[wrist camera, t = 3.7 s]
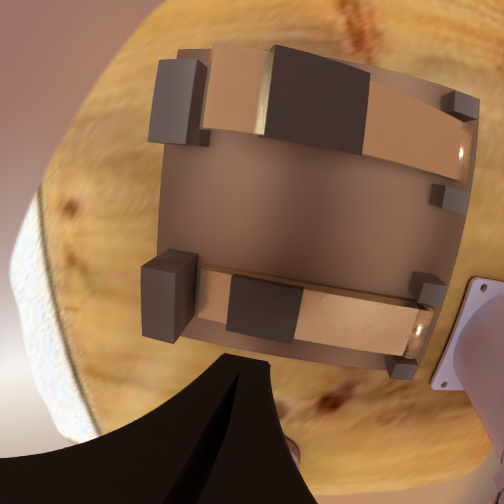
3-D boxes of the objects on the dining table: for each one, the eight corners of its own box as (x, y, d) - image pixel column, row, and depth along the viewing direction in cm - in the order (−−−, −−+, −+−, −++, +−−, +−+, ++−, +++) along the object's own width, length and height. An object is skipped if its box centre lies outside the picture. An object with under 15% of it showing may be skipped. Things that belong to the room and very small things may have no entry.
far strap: (431, 301, 13) (440, 314, 12) (414, 349, 14) (420, 364, 12) (208, 260, 15) (197, 269, 14) (204, 310, 16) (194, 322, 14)
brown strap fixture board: (454, 107, 13) (511, 89, 8) (403, 344, 17) (430, 406, 12) (198, 66, 15) (151, 29, 10) (176, 306, 19) (132, 357, 14)
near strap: (458, 125, 11) (482, 127, 10) (451, 182, 12) (475, 187, 10) (210, 48, 8) (218, 33, 7) (198, 132, 9) (204, 130, 7)
